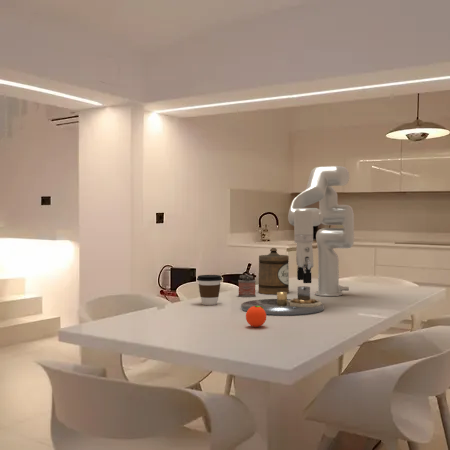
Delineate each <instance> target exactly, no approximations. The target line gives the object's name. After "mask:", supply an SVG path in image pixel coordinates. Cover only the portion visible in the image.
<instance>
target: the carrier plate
mask: <svg viewBox="0 0 450 450" xmlns="http://www.w3.org/2000/svg"><path fill="white" fill-rule="evenodd" d="M292 299H293V298H288V293H287V292H277V295H276V298H270V299H269V298H267V299H266V298H264V299H254V300H248V301H244V302H242V303H241V304H240V310H241V311H243V312H246V313H247V311H248V309H249V308H251V307H253V306H262V307H263V309H264V311H265V313H266V316H273V317H274V316H277V317H278V316H280V317H282V316H283V317H284V316H286V317H287V316H289V317H290V316H291V317H292V316H306V315H307V316H308V315H314V314H318V313H322V312H324V309H325V306H324V304H323V303H322V301H320V300H319V299H315V303H305V304H301V303H292Z"/></svg>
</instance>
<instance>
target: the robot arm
mask: <svg viewBox="0 0 450 450" xmlns="http://www.w3.org/2000/svg"><path fill="white" fill-rule="evenodd" d="M307 181H308V182H307V184H306V188H305V190H303V191H302V192H300V193H299V194H298V195H297V196H296V197H294V198H293V199H292V201H291V203H290V206H289V210H288V214H287V215H288V216H287V220H288V222H289V224H290V226H293V228H294V230H293V231H294V237H293V238H294V242H293V243H295V244H296V251H295V252H296V253H295V255H296V258H295V259H296V260H295V261H296V266H297V267H296V271H297V273H296V275H297V276H296V277H297V278H296V279H297V280H298V281H303V284H312V268H313V267H314V265H315V264H314V250H313V244H314V227H317V226H319V225H321V224H322V225H325V226H342V227H323V228H320V229H318V230H317V231H316V234H315V240H316V245H317V261H318V263H317V264H318V267H317V269H318V270H317V276H318V278H317V281H318V282H317V285H318V287H317V291H315V292H314V295H315V296H321V297H338V296H342V295H343V291H345V292H346V291H349V290H350V287H349V286H341V285H340V283H339V280H340V279H339V278H340V277H339V276H340V275H339V268H340V266H339V264H340V262H339V261H340V260H339V256H338V253H336V251H335V250H334V249H351V248H352V247H353V246H354V244H355V214H354V210H353V207H352V206H350V205H349V204H339V203H338V193H337V191H336V190H335V189H334V187H338V186H342V187H343V186H347V184H348V183H349V181H350V172H349V170H348V168H347V167H345V166H342V165H341V166H340V165H323V166H322V165H320V166H315V167H314V168H313V169H311V171H310V174H309V177H308V180H307ZM333 186H334V187H333ZM318 202H319V203H318ZM315 203H318V206H319V208H317V207H308V206H310V205H314V204H315Z"/></svg>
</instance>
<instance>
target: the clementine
mask: <svg viewBox="0 0 450 450" xmlns="http://www.w3.org/2000/svg"><path fill="white" fill-rule="evenodd" d="M245 320H246V322H247V324H248V325H249V326H250V327H253V328H259V327H261V326H263V325H264V324H265V322H266V320H267V315H266V313H265V311H264V309H263V307H262V306H253V307H251V308H249V309H248V311H247V312H246V313H245Z"/></svg>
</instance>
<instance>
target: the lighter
mask: <svg viewBox="0 0 450 450" xmlns="http://www.w3.org/2000/svg"><path fill="white" fill-rule="evenodd" d="M241 279H242V280H241ZM256 283H257V281H256V280H255V279H254V276H253V275H249V274H247V275H242V274H241V275H239V279H238V295H237V296H238V298H255V297H256Z"/></svg>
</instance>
